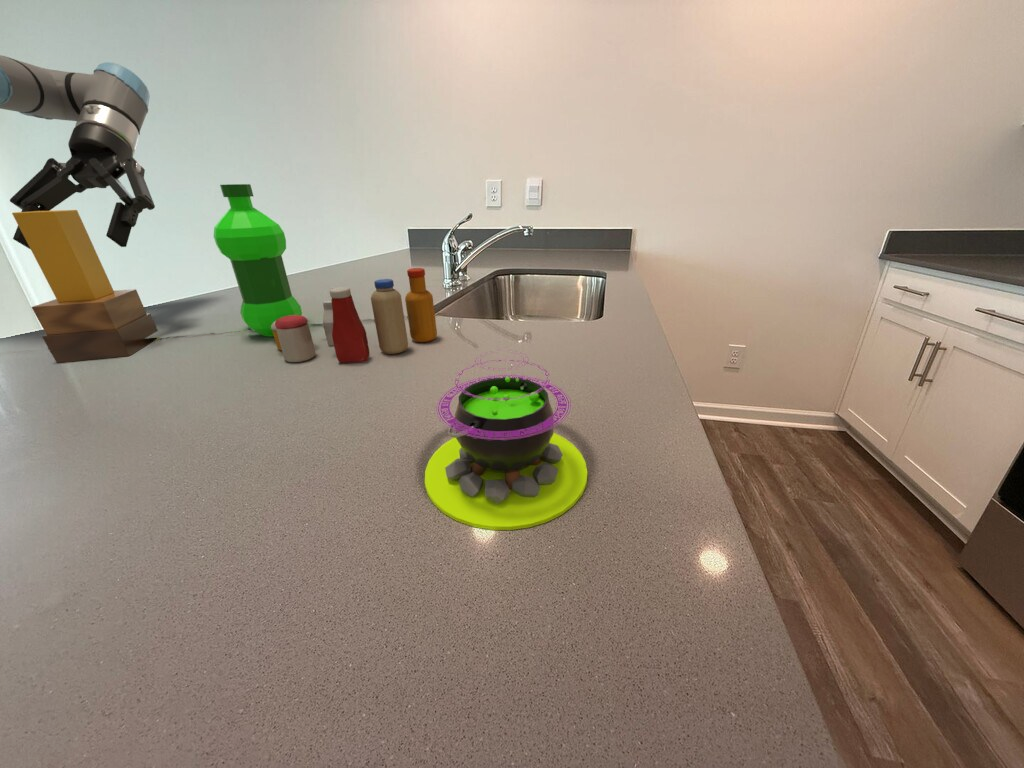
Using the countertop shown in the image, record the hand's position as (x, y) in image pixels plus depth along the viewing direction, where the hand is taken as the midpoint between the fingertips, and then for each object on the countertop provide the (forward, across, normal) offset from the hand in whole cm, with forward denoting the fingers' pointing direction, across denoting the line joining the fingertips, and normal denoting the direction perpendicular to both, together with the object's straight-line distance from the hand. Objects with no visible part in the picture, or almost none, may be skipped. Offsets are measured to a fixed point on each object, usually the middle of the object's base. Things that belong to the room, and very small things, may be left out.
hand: (70, 243), depth 64 cm
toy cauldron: (+42, +66, -17) cm, 80 cm away
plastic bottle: (+10, +25, +15) cm, 31 cm away
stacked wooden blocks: (+13, 0, +11) cm, 17 cm away
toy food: (+18, +42, +7) cm, 46 cm away
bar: (+7, 0, +5) cm, 8 cm away
